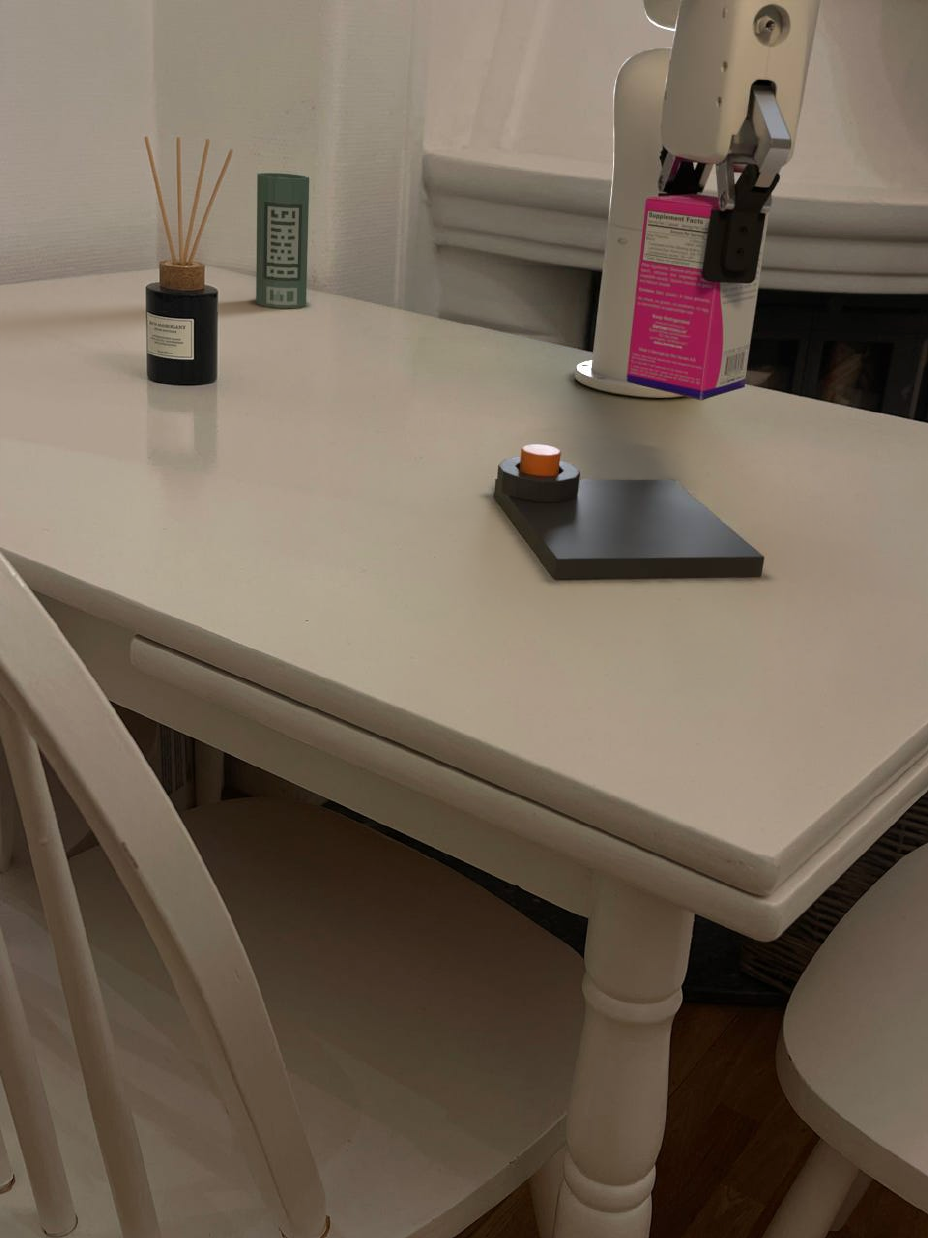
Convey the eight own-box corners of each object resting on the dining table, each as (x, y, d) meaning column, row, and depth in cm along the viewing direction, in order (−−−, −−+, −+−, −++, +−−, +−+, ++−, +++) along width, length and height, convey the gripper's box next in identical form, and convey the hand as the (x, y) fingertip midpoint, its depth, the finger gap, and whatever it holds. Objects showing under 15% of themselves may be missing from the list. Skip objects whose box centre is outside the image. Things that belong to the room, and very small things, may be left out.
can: (304, 300, 159) (307, 175, 153) (306, 309, 154) (310, 179, 148) (256, 297, 158) (257, 171, 152) (256, 306, 153) (257, 176, 147)
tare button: (514, 467, 91) (517, 443, 90) (552, 467, 91) (554, 443, 91) (525, 479, 88) (527, 455, 88) (563, 479, 89) (565, 455, 88)
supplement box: (667, 370, 85) (693, 191, 80) (746, 388, 81) (777, 203, 77) (620, 381, 80) (644, 193, 76) (701, 401, 77) (732, 206, 72)
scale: (487, 495, 93) (491, 455, 92) (669, 495, 96) (675, 457, 95) (549, 580, 78) (554, 534, 77) (761, 577, 82) (769, 533, 80)
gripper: (886, -54, 64) (820, 298, 71) (744, -36, 79) (701, 251, 86) (750, -69, 62) (696, 292, 69) (632, -48, 78) (598, 246, 85)
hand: (700, 268), depth 78 cm, fingers closed on supplement box, 7 cm apart
